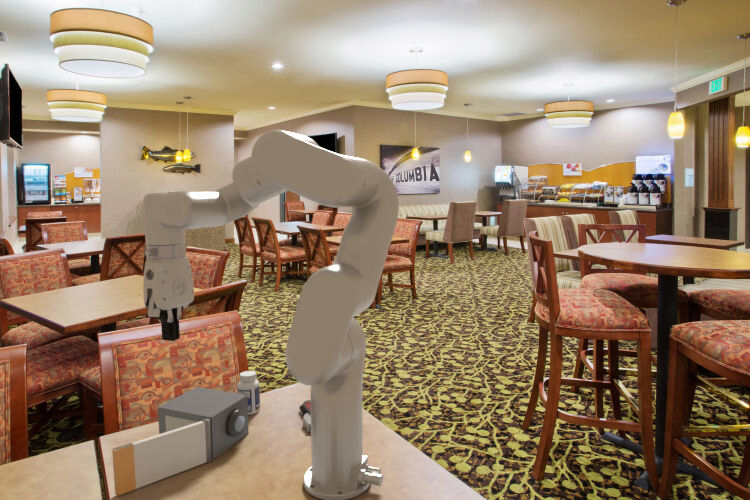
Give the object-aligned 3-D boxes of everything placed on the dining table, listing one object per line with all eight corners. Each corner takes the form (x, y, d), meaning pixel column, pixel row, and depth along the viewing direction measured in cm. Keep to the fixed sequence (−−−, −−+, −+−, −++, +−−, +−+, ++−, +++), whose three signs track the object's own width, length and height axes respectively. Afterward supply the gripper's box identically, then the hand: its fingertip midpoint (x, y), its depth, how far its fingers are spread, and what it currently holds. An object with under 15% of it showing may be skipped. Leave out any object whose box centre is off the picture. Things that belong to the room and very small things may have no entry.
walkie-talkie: (291, 413, 122) (320, 450, 104) (291, 396, 121) (320, 430, 104) (324, 406, 126) (357, 440, 108) (324, 390, 125) (357, 421, 108)
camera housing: (254, 434, 110) (253, 396, 109) (219, 461, 99) (218, 418, 98) (198, 423, 116) (197, 386, 115) (159, 447, 104) (157, 407, 103)
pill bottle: (253, 404, 126) (252, 368, 125) (264, 411, 122) (263, 373, 121) (234, 410, 122) (232, 373, 121) (244, 417, 119) (243, 379, 118)
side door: (209, 458, 100) (208, 417, 99) (212, 460, 99) (211, 420, 98) (114, 493, 88) (111, 448, 87) (117, 497, 87) (114, 451, 86)
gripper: (153, 257, 93) (159, 351, 94) (204, 249, 107) (208, 331, 109) (122, 256, 95) (128, 348, 97) (176, 248, 109) (181, 329, 111)
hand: (171, 339), depth 103 cm, fingers closed
